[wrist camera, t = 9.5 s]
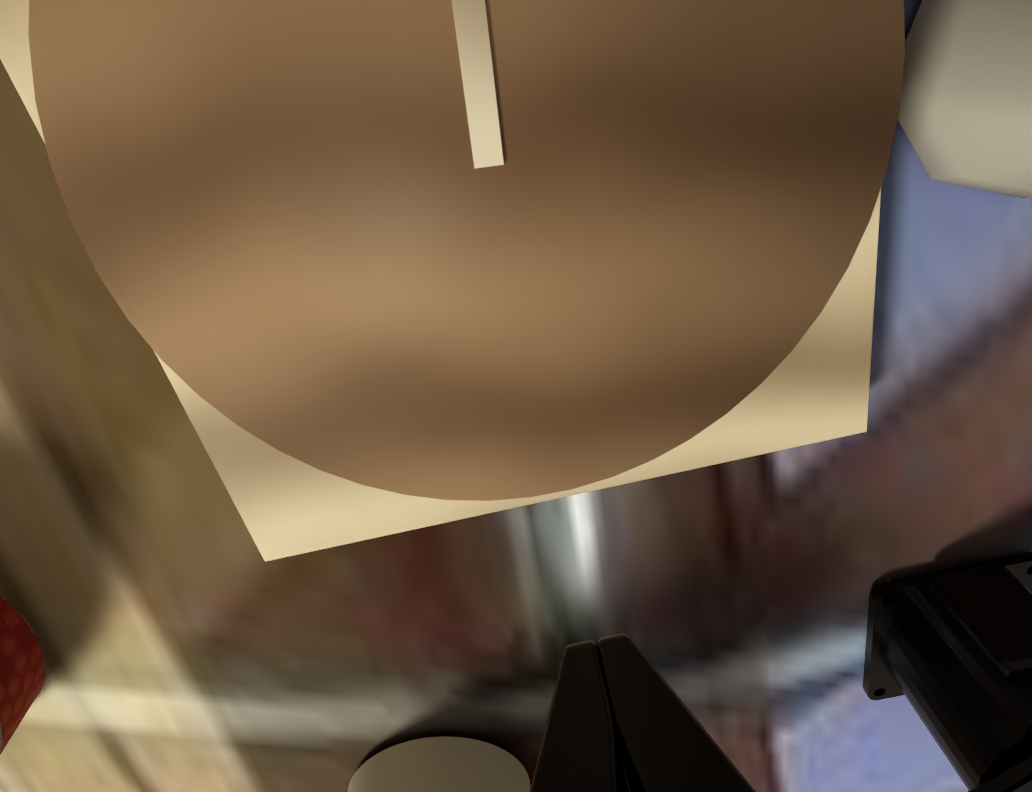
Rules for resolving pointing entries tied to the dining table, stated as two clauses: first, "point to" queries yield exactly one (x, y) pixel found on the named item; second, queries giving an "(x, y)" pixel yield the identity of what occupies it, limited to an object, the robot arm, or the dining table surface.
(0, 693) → the dark red handled pot
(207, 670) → the dining table surface
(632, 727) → the robot arm
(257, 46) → the knobbed disc on base
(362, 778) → the travel mug
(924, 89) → the flask
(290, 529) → the stand
